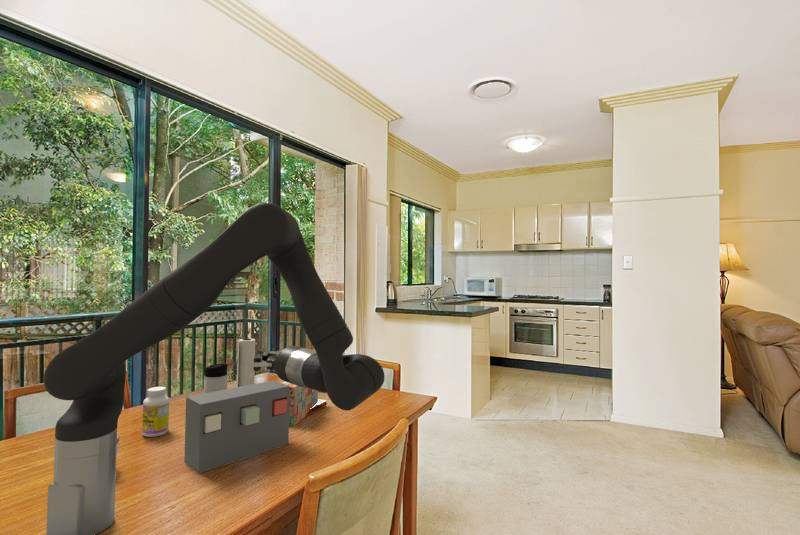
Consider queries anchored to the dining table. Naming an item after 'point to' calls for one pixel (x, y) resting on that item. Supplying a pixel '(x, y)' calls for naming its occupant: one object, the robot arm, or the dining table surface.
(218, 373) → the travel mug
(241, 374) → the paper towel roll
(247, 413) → the green button
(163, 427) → the supplement bottle
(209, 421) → the cream button
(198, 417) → the console
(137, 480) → the dining table surface
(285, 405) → the red button
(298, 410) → the stack of blocks
